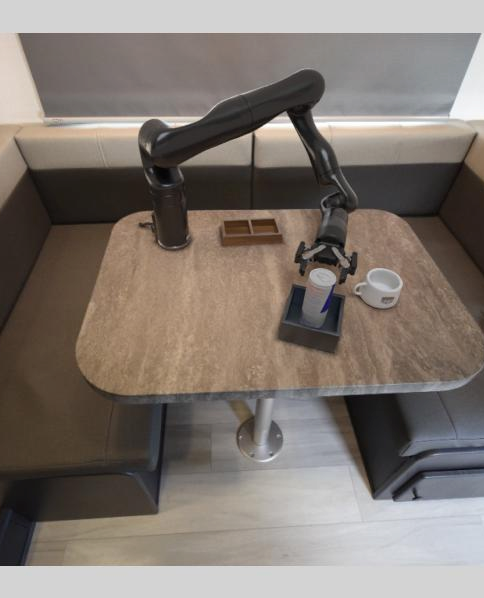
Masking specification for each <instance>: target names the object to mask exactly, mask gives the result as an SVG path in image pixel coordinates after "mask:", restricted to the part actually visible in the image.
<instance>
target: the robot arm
mask: <svg viewBox="0 0 484 598" xmlns="http://www.w3.org/2000/svg"><path fill="white" fill-rule="evenodd" d="M325 90H326V79H325V77H324V75H323V74H322V73H321V72H320V71H318V70H316V69H313V68H309V67H308V68H301V69H299V70H298V71H296V72H293V73H292V74H289V75H287V76H286V77H284V78H282V79H280V80H278V81H275V82H273V83H270V84H267V85H263V86H261V87H258V88H255V89H252V90H249V91H246V92H243V93H239V94H236V95H233V96H231V97H228V98H226V99H224V100H221V101H219V102H217V104H215V105H214V106H213V107H212V108H211V109H210V110H208V112H207V113H206V114H205V115H203V116H202V117H201V118H199V119H198V120H196V121H193V122H191V123H187V124H184V125H180V126H175V127H173V126H172V125H171V124H169V123H168V122H167V121H165V120H164V119H161V118H149V119H147V120H146V121H145V122H144V123H142V125H141V126H140V128H139V131H138V135H137V145H138V151H139V155H140V160H141V165H142V170H143V173H144V177H145V180H146V181H147V184H148V189H149V190H148V191H149V194H150V201H151V206H152V212H151V215H150V216H151V222H149V221H147V222H141V221H140V222H139V223H138V226H140V227H146V226H150V231H151V233H152V234H154V237H155V242H157V243H158V244H159V246H160V247H161V248H163V249H166V250H169V251H177V250H181V249H184V248H185V247H187V246H188V245H189V244H190V243H191V232H190V228H189V227H190V225H189V216H188V205H187V197H186V188H185V187H186V186H185V185H186V184H185V178H184V174H183V173H182V171H181V168H180V166H179V165H181V164H183V163H185V162H187V161H188V160H191V159H193V158H194V157H196V156H198V155H200V154H202V153H204V152H206V151H208V150H211V149H213V148H216V147H218V146H221V145H224V144H226V143H228V142H230V141H233V140H237V139H239V138H242V137H244V136H247V135H249V134H252V133H254V132H256V131H258V130H259V129H261V128H262V127H264V126H266V125H267V124H269V123H270V122H271V121H273V120H274V119H276V118H277V117H279V116H280V115H282V114H283V113H286V114H287V116H288V118H289V121H290V122H291V124H292V127H294V130H295V132H296V134H297V135H298V137H299V139H300V142H301V143H302V145H303V148H304V149H305V152H306V154H307V156H308V160H309V162H310V165H311V169H312V171H313V174H314V176H315V177H314V178H315V180H316V182H317V185H318V187H320V188H328V187H336V188H337V189H338V191H336V192H333V193H331V194H328V195H326V196H324V197H323V198H322V199H321V200H320V202H319V205H318V206H319V211H320V214H321V220H320V224H319V225H318V227H317V229H316V234H315V238H314V241H313V244H311V245H308V244H306V242H305V240H302V241H300V242H299V245H298V247H297V249H296V251H295V254H294V260H293V263H294V264H295V265H296V264H297V265H298V264H300V265H299V268H298V274H300V277H305V273H306V270H307V266H309V265H310V266H312V265H314V264H316V263H318V264H321V265H326V266H330V267H331V266H332V267H333V268H334V270H336V271H338V272H339V278H338V286H339V285H340V286H342V285H343V284H345V283H346V281H347V278H348V275H350V276H355V275H356V271H357V268H358V258H359V257H358V255H359V254H358V252H357V251H352V252H351V253H347V252H346V251H345V247H346V242H347V237H348V225H349V215H350V214H353V213H355V212H356V211H357V210H358V207H359V199H358V196H357V194H356V193H355V191H354V190H353V188H352V187H351V185H350V184H349V183H348V181H347V180H346V177H345V175H344V174H343V172H342V169H341V165H340V163H339V160H338V157H337V154H336V152H335V150H334V148H333V146H332V145H331V143H330V142H329V141H328V140H327V139H326V138H325V137H324V135H323V134H322V133H321V132H320V130H319V129H318V127H317V125H316V123H315V120H314V117H313V112H312V111H313V110H312V109H313V108H314V107H315V106H316V105H317V104H319V103H320V101H321V99H322V98H323V96H324V94H325V92H326V91H325ZM307 252H308V253H307ZM346 261H347V262H346Z"/></svg>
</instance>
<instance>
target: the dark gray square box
mask: <svg viewBox="0 0 484 598" xmlns="http://www.w3.org/2000/svg"><path fill="white" fill-rule="evenodd" d="M306 288H307V286H304V285H300V284H295V283H292V284H291V287H290V291H289V294H288V297H287V300H286V305H285V307H284V311H283V313H282V316H281V320H280V324H279V332H278V338H277V339H278V340H280V341H283V342H284V341H285V342H288V343H292V344H296V345H300V346H303V347H308V348H311V349H316V350H318V351H322V352H327V353H331V354H334V353H335V351H336V348H337V346H338V343H339V340H340V337H341V331H342V325H343V318H344V311H345V304H346V295H344V294H341V293H340V294H339V293H335V292H333V294H332V298H331V301H330V304H329V308H328V311H327V314H326V318H325V321H324V324H323V327H322V329H319V328H315V327H311V326H307V325H303V324H300V322H299V320H300V315H301V311H302V306H303V301H304V297H305V292H306Z"/></svg>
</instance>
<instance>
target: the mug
mask: <svg viewBox="0 0 484 598" xmlns="http://www.w3.org/2000/svg"><path fill="white" fill-rule="evenodd" d="M403 285H404V283H403V279H402V277H401V276H400V275H399V274H398V273H396V272H395V271H393V270H391V269H388V268H383V267H376V268H373V269H370V270H369V271H368V272H367V273H366V275H365V277H364V279H363V280H362V282H358V283H357V284H355V285H354V286H353V288H352V293H353V294H354V295H356V296H359V297H360V298H361V300H362V301H363V302H364V303H365V304H367V305H368V306H370V307H373V308H374V309H375V308H376V309H379V310H380V309H381V310H385V309H390V308H393V307H394V306H395V305H396V304H397V303H398V300H399V299H400V294H401V292H402V289H403ZM357 289H358V291H357Z"/></svg>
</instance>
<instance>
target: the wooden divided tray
mask: <svg viewBox="0 0 484 598" xmlns="http://www.w3.org/2000/svg"><path fill="white" fill-rule="evenodd" d="M220 229H221V230H220V231H221V238H222V245H223V246H238V245H258V244H259V245H261V244H278V243H282V240H283V233H282V230H281V226H280V223H279V221H278V218H277V217H276V216H273V217H254V218H253V217H252V218H231V219H229V218H228V219H220Z"/></svg>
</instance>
